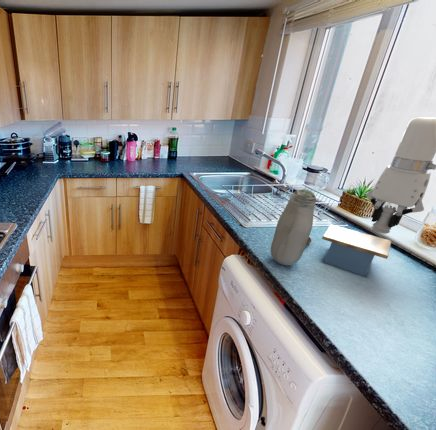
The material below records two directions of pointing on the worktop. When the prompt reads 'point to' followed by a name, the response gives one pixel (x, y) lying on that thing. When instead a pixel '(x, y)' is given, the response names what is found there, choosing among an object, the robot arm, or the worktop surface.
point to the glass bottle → (293, 228)
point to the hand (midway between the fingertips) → (383, 223)
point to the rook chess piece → (384, 220)
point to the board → (358, 241)
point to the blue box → (349, 258)
